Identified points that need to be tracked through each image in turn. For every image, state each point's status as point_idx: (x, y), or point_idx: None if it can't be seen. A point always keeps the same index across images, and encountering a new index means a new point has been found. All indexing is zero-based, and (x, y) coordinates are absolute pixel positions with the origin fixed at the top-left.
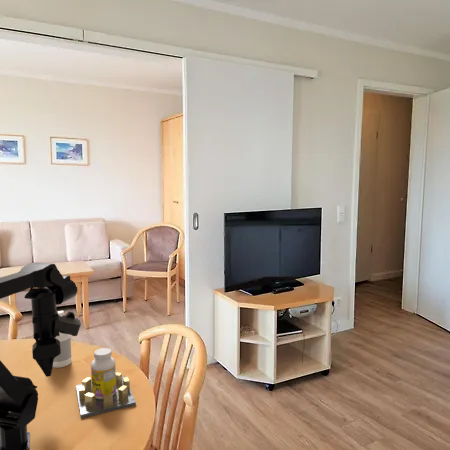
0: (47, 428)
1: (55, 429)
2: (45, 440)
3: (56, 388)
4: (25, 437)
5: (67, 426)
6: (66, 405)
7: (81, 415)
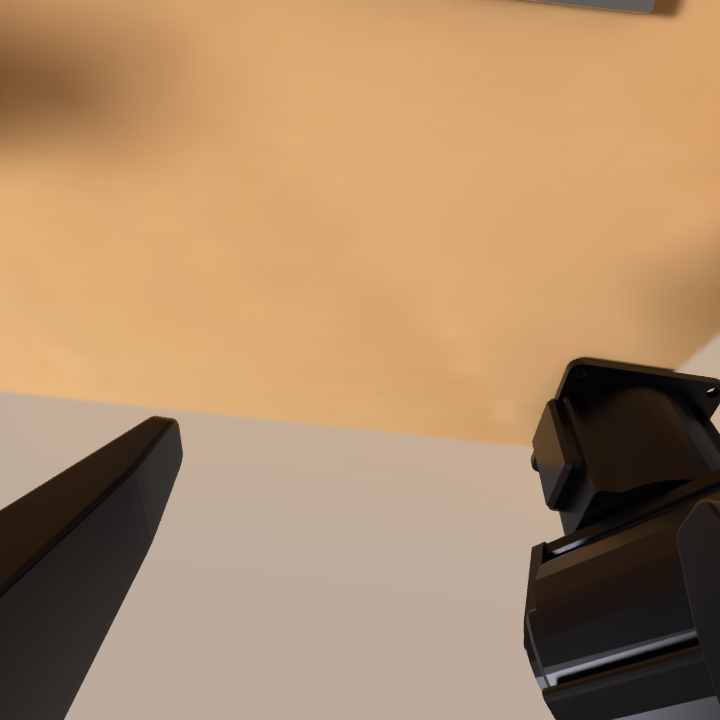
0: (584, 266)
1: (635, 225)
2: (704, 296)
3: (86, 125)
4: (692, 418)
5: (666, 144)
6: (371, 96)
7: (649, 6)
